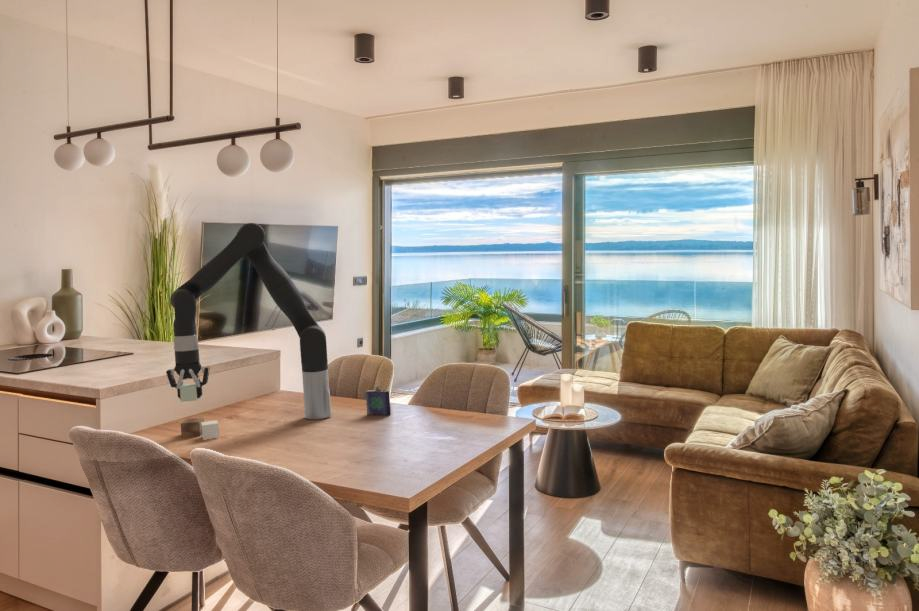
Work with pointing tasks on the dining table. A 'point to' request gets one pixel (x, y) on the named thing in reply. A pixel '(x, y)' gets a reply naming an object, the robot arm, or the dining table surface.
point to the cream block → (210, 430)
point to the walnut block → (191, 427)
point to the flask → (378, 402)
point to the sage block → (188, 392)
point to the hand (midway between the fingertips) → (190, 398)
